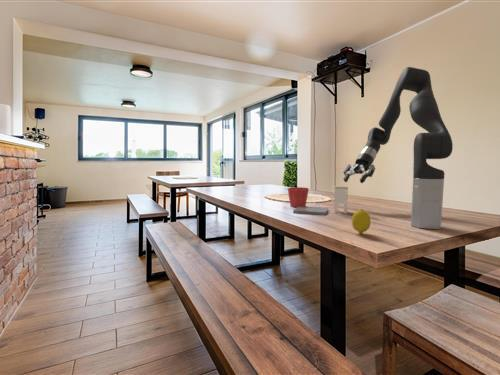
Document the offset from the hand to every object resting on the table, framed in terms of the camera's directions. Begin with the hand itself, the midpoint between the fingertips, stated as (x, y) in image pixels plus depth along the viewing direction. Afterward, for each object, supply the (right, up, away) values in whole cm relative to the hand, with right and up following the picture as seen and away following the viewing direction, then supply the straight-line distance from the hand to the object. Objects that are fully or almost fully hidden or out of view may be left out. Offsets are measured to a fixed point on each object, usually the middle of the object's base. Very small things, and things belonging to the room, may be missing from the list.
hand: (352, 181), depth 133 cm
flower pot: (-24, -13, +13) cm, 30 cm away
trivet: (-21, -14, -3) cm, 25 cm away
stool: (-7, -14, -4) cm, 17 cm away
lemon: (-14, -18, -44) cm, 50 cm away
